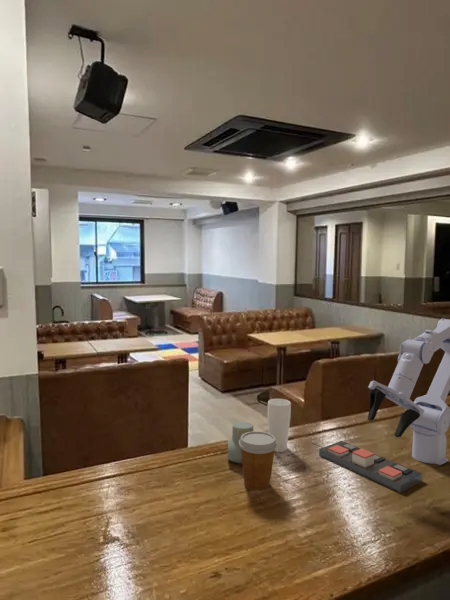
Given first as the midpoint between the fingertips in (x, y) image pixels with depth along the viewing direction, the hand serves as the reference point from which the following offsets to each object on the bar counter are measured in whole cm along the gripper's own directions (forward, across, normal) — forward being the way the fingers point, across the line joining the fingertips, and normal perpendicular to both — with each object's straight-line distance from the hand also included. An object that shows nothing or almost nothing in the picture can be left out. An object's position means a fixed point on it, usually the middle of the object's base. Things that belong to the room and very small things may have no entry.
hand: (383, 428), depth 108 cm
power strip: (+9, +4, +17) cm, 19 cm away
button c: (+9, +9, +6) cm, 14 cm away
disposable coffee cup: (+27, -19, +10) cm, 35 cm away
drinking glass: (+15, -15, +27) cm, 34 cm away
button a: (+9, -1, +19) cm, 21 cm away
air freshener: (+23, -23, +24) cm, 40 cm away
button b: (+8, +3, +12) cm, 14 cm away
